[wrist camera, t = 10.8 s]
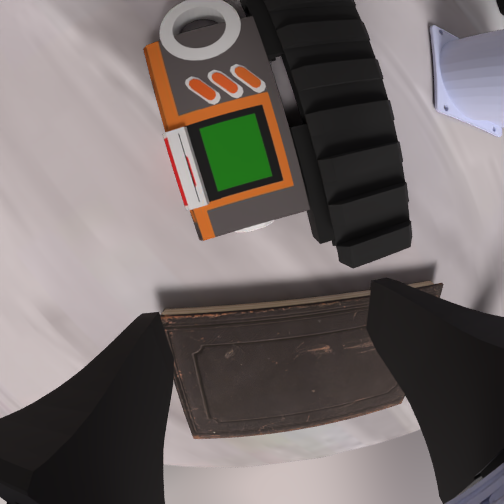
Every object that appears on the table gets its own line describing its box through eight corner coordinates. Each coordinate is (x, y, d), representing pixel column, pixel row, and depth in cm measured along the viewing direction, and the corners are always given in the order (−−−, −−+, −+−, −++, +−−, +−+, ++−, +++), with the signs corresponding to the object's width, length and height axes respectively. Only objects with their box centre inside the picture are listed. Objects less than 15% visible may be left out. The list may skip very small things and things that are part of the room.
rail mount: (390, 217, 20) (430, 239, 15) (313, 243, 20) (339, 273, 15) (311, -40, 12) (332, -73, 7) (225, -31, 12) (227, -71, 8)
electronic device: (242, -15, 11) (313, 217, 16) (240, 6, 14) (300, 207, 19) (130, 16, 11) (198, 250, 16) (143, 33, 14) (202, 236, 19)
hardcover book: (161, 300, 21) (156, 317, 19) (429, 273, 23) (443, 284, 21) (195, 425, 27) (194, 441, 24) (392, 393, 29) (400, 406, 26)
